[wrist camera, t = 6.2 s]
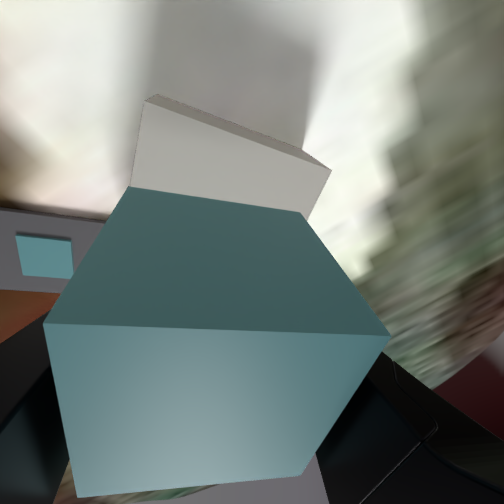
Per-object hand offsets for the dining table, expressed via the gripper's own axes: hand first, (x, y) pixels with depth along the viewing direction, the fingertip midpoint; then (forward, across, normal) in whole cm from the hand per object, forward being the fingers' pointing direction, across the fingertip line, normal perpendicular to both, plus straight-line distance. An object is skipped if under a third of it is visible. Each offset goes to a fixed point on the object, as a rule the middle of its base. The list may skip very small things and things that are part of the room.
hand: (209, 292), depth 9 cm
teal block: (+1, 0, 0) cm, 1 cm away
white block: (+12, -1, +1) cm, 12 cm away
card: (+11, +9, +7) cm, 16 cm away
